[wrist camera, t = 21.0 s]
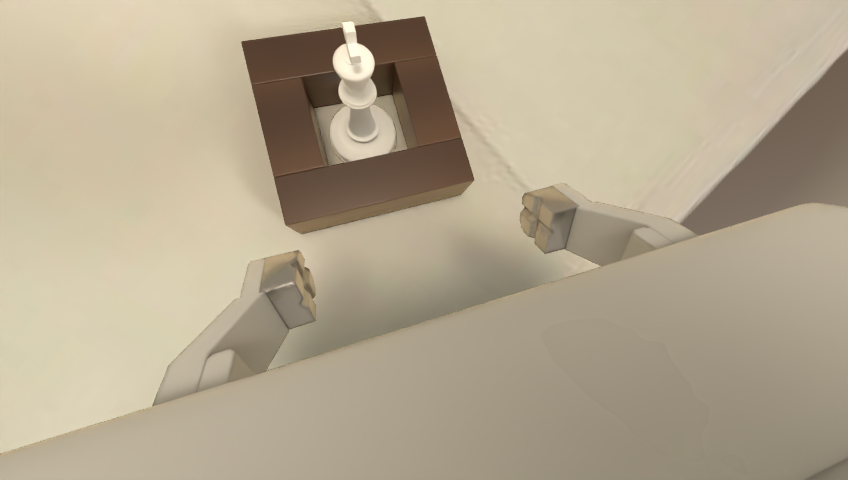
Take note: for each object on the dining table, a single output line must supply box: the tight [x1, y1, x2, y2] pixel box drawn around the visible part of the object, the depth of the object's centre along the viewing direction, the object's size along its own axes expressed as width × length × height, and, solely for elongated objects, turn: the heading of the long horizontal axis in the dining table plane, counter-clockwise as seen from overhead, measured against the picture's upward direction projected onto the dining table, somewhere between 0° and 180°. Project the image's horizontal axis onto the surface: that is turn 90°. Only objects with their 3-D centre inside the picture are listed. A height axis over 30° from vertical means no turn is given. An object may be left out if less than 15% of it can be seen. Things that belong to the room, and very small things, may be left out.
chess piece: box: [329, 21, 397, 163], centre depth 18 cm, size 5×5×10 cm
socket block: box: [241, 16, 474, 234], centre depth 21 cm, size 12×12×4 cm
